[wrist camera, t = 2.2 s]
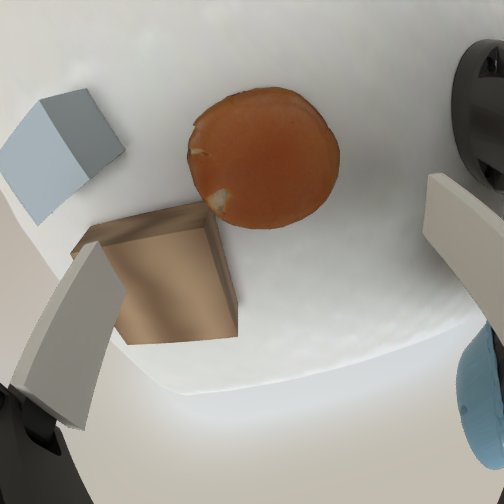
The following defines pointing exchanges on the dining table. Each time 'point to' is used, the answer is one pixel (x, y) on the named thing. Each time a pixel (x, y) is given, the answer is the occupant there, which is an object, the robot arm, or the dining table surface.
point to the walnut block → (169, 275)
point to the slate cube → (57, 151)
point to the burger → (263, 158)
